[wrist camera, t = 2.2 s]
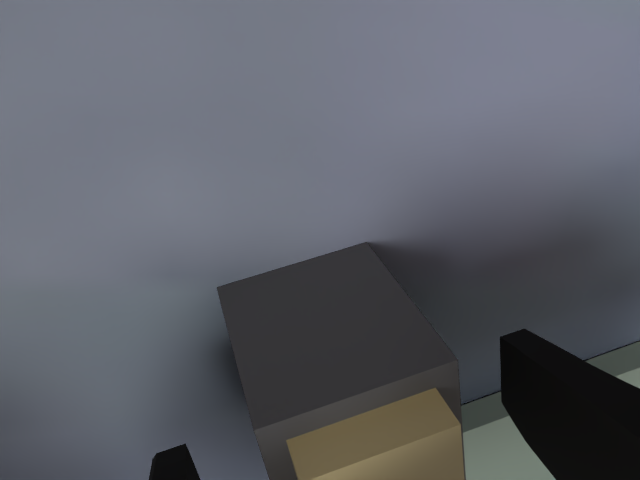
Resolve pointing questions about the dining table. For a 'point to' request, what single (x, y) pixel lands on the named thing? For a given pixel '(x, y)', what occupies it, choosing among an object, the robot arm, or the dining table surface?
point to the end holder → (505, 439)
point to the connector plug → (344, 373)
